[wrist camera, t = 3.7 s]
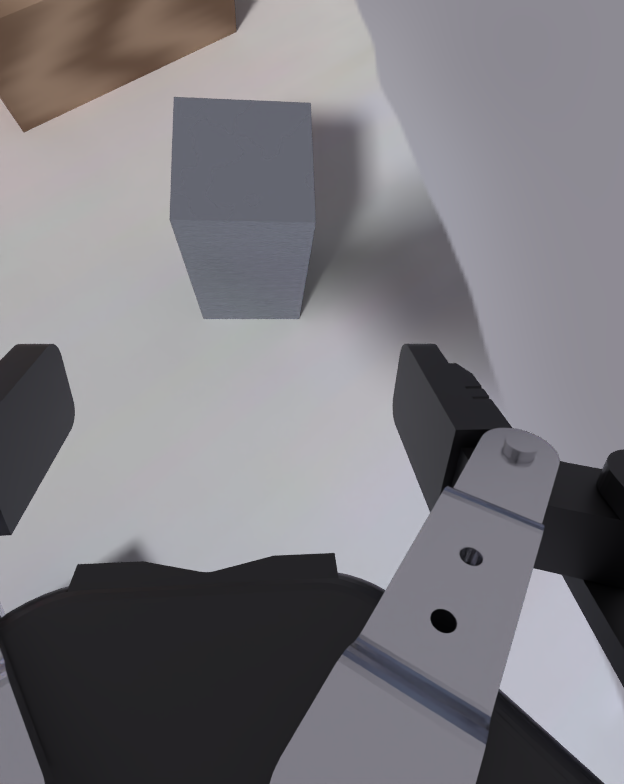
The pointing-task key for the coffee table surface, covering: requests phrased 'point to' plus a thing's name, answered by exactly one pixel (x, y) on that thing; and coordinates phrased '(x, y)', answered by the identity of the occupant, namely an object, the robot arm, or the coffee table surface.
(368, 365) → the coffee table surface
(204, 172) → the square grey tin
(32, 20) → the walnut block
